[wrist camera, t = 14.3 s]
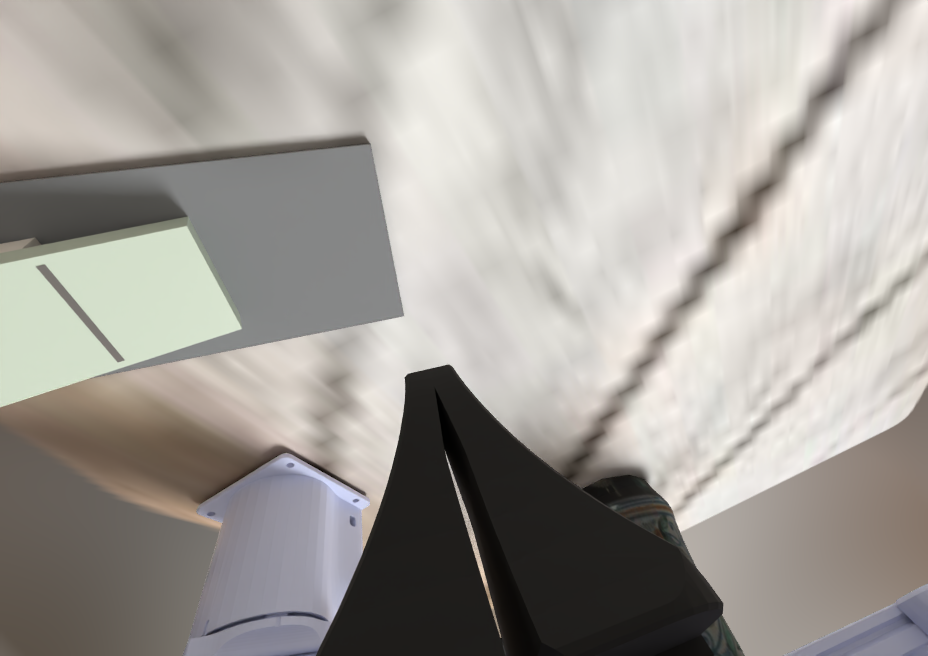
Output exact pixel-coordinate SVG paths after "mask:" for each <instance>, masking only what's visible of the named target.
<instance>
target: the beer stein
mask: <svg viewBox="0 0 928 656" xmlns="http://www.w3.org/2000/svg"><path fill="white" fill-rule="evenodd" d="M582 490H584V491H585V492H587V493H588V494H590V495H591V496H593V497H594V498H596V499H597V500H598V501H600V502H602V503H603V504H605V505H606V506H608V507H610V508H611V509H613V510H614V511H616V512H618V513H619V514H621V515H622V516H624V517H626V518H627V519H629V520H631V521H633V522H634V523H636V524H638V525H639V526H641V527H643V528H645V529H646V530H648V531H650V532H652V533H653V534H655V535H657V536H659V537H661V538H662V539H664V540H666V541H668V542H670V543H671V544H673V545H675V546H677V547H678V548H679V549H680V550H681V551H682V552H683V553H684V555H685V556H686V557H687V558H688V559H689V560H690V561H691V563H692V564H693V565H694V566H695V564H694V562H693V560H692V558H691V556H690V553H689V552H688V549H687V547H686V545H685V543H684V541H683V539H682V536H681V534H680V531H679V529H678V526H677V524H676V521H675V518H674V514H673V511H672V509H671V507H670V506H669V504H668V503H667V502H666V501H665V500H664V499H663V498H662V497H661V496H660V495H659V494H658V493H657V492H656V491H655V490H653V489H652V488H651V487H650V485H649V484H648V483H647V482H646V481H645V480H644V479H642V478H638V477H635V476H631V475H625V476H619V477H612V478H605V479H602V480H600V481H598V482H596V483H594V484H592V485H590V486H588V487H586V488H584V489H582ZM695 567H696V566H695ZM701 635H702V636H703V638H704V639H705V641H706V642H707V644H708V646H709V647H710V649H711V650H712V652H713V653H714V656H745V655H744V654H743V652H742V649H741V648H740V646H739V644H738V642H737V641H736V639H735V637H734V636H733V634H732V632H731V630H730V628H729V627H728V625H727V623H726V621H725V619H724V618H723V616H722V615H721V616H720V617H719V618H718V619H717V620H716V621H715V622H714V623H713V624H712V625H711V626H710V627H709V628H707V629H706V630H705V631H704V632H703V633H702V634H701Z"/></svg>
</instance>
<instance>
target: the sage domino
mask: <svg viewBox="0 0 928 656" xmlns="http://www.w3.org/2000/svg"><path fill="white" fill-rule="evenodd" d="M240 329H242V325H241V319H240V314H239V312H238V310H237V308H236V306H235V304H234V303H233V301H232V299H231V297H230V295H229V293H228V291H227V289H226V287H225V286H224V284H223V282H222V280H221V278H220V276H219V274H218V272H217V270H216V269H215V267H214V265H213V263H212V261H211V259H210V257H209V255H208V253H207V251H206V250H205V248H204V246H203V244H202V242H201V240H200V238H199V236H198V234H197V233H196V231H195V229H194V227H193V225H192V223H191V221H190V219H189V217H188V216H187V217H182V218H177V219H172V220H167V221H162V222H157V223H152V224H147V225H142V226H136V227H131V228H126V229H121V230H116V231H111V232H106V233H101V234H96V235H90V236H85V237H80V238H75V239H70V240H65V241H60V242H55V243H50V244H44V245H39V246H34V247H29V248H24V249H19V250H14V251H9V252H4V253H0V407H3V406H6V405H9V404H12V403H15V402H18V401H21V400H24V399H28V398H31V397H34V396H37V395H40V394H43V393H46V392H49V391H52V390H55V389H58V388H61V387H64V386H68V385H71V384H74V383H77V382H80V381H83V380H86V379H89V378H92V377H95V376H98V375H101V374H105V373H108V372H111V371H114V370H117V369H120V368H123V367H126V366H129V365H132V364H135V363H138V362H141V361H145V360H148V359H151V358H154V357H157V356H160V355H163V354H166V353H169V352H172V351H175V350H178V349H181V348H185V347H188V346H191V345H194V344H197V343H200V342H203V341H206V340H209V339H212V338H215V337H218V336H222V335H225V334H228V333H231V332H234V331H237V330H240Z"/></svg>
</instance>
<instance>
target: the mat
mask: <svg viewBox="0 0 928 656" xmlns="http://www.w3.org/2000/svg"><path fill="white" fill-rule="evenodd" d="M187 216H188V217H189V219H190V221H191V223H192V225H193V227H194V229H195V231H196V233H197V234H198V236H199V238H200V240H201V242H202V244H203V246H204V248H205V250H206V251H207V253H208V255H209V257H210V259H211V261H212V263H213V265H214V267H215V269H216V270H217V272H218V274H219V276H220V278H221V280H222V282H223V284H224V286H225V287H226V289H227V291H228V293H229V295H230V297H231V299H232V301H233V303H234V304H235V306H236V308H237V310H238V312H239V314H240V319H241V325H242V329H240V330H237V331H234V332H231V333H228V334H225V335H222V336H218V337H215V338H212V339H209V340H206V341H203V342H200V343H197V344H194V345H191V346H188V347H185V348H181V349H178V350H175V351H172V352H169V353H166V354H163V355H160V356H157V357H154V358H151V359H148V360H145V361H141V362H138V363H135V364H132V365H129V366H126V367H123V368H120V369H117V370H114V371H111V372H108V373H105V374H101V375H98V376H95V377H100V376H105V375H110V374H115V373H120V372H125V371H130V370H135V369H140V368H145V367H150V366H155V365H160V364H165V363H170V362H175V361H180V360H185V359H190V358H195V357H200V356H206V355H211V354H216V353H221V352H226V351H231V350H236V349H241V348H246V347H251V346H256V345H261V344H266V343H271V342H276V341H281V340H286V339H291V338H296V337H301V336H306V335H311V334H316V333H321V332H327V331H332V330H337V329H342V328H347V327H352V326H357V325H362V324H367V323H372V322H377V321H382V320H387V319H392V318H397V317H402V316H404V313H403V308H402V303H401V298H400V293H399V287H398V282H397V277H396V272H395V267H394V262H393V257H392V252H391V246H390V241H389V236H388V231H387V226H386V221H385V216H384V211H383V205H382V200H381V195H380V190H379V185H378V180H377V175H376V170H375V164H374V159H373V154H372V149H371V144H370V143H368V144H359V145H349V146H340V147H330V148H321V149H311V150H302V151H293V152H283V153H274V154H264V155H255V156H245V157H236V158H227V159H217V160H208V161H198V162H189V163H179V164H170V165H160V166H151V167H142V168H132V169H123V170H113V171H104V172H94V173H85V174H76V175H66V176H57V177H47V178H38V179H28V180H19V181H9V182H0V244H3V243H8V242H13V241H19V240H24V239H30V238H36V239H37V240H38V241H39V243H40V244H41V245H44V244H50V243H55V242H60V241H65V240H70V239H75V238H80V237H85V236H90V235H96V234H101V233H106V232H111V231H116V230H121V229H126V228H131V227H136V226H142V225H147V224H152V223H157V222H162V221H167V220H172V219H177V218H182V217H187ZM95 377H92V378H95ZM89 379H90V378H89Z"/></svg>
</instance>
